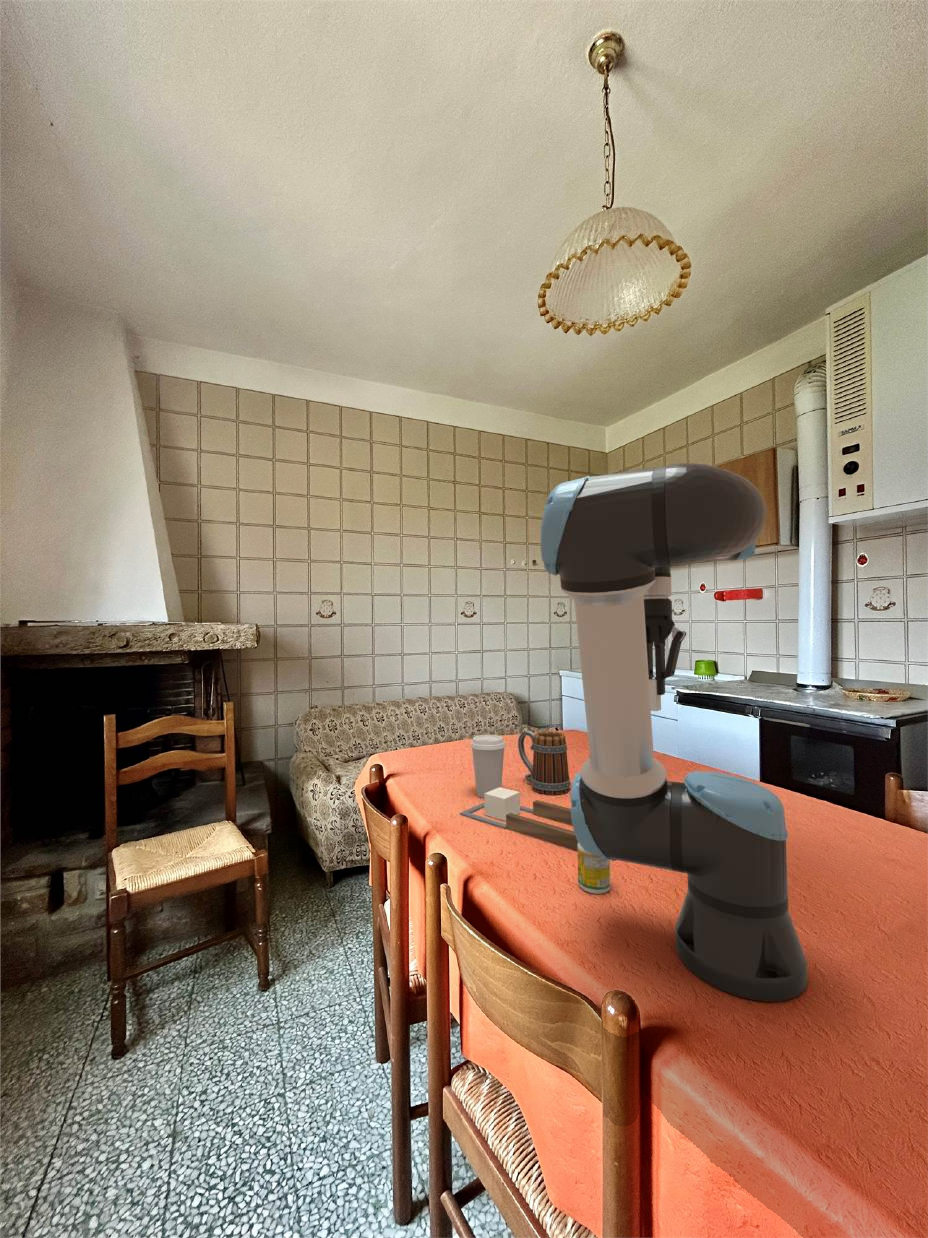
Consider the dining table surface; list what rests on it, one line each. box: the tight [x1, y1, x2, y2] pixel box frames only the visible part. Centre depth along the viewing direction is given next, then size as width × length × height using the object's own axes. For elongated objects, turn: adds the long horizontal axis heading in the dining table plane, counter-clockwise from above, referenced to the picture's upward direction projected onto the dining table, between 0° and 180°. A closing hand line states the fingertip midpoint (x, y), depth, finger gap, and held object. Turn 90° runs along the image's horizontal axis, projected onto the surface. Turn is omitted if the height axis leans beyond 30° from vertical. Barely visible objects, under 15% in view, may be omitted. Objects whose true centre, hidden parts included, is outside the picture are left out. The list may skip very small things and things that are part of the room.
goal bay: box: [459, 802, 533, 830], centre depth 118 cm, size 13×14×1 cm
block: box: [483, 787, 521, 822], centre depth 117 cm, size 6×6×5 cm
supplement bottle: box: [577, 842, 612, 895], centre depth 84 cm, size 5×5×10 cm
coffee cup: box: [469, 734, 507, 799], centre depth 131 cm, size 10×10×15 cm
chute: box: [505, 799, 578, 852], centre depth 106 cm, size 12×22×3 cm, turn 48°
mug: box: [517, 730, 571, 796], centre depth 136 cm, size 16×11×15 cm
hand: (655, 710), depth 104 cm, fingers closed
